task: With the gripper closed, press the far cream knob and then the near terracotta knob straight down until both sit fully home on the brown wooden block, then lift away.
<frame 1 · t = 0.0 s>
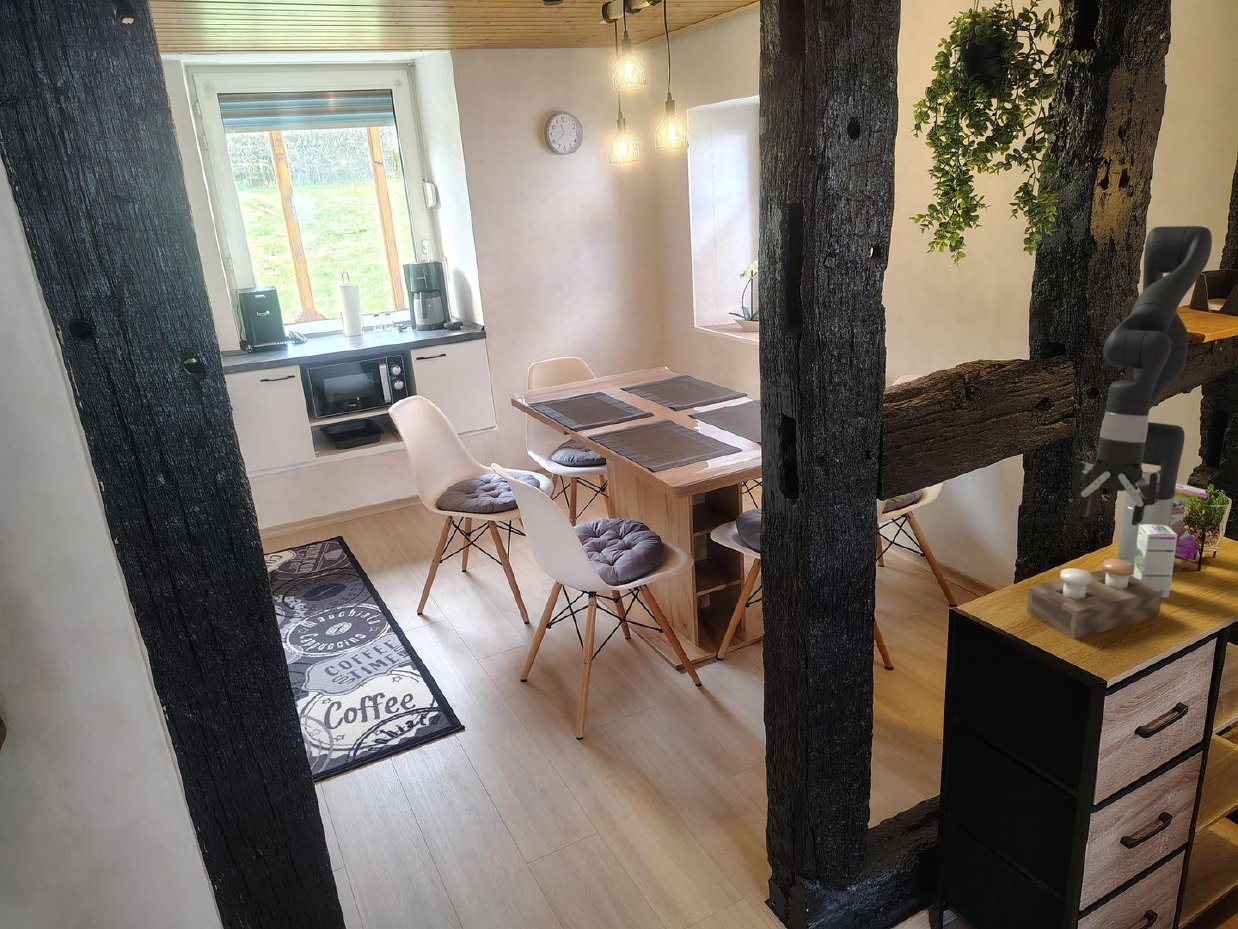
hand: (1109, 520, 165), 22 cm above the dresser top, tool pointing down, fingers open, 8 cm apart
terracotta knob: (1116, 580, 175), point 7 cm above the dresser top, slide at 0.0 cm
cream knob: (1074, 590, 172), point 7 cm above the dresser top, slide at 0.0 cm
brown wooden block: (1092, 614, 176), on the dresser top
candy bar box: (1174, 554, 202), on the dresser top
syrup box: (1149, 592, 184), on the dresser top
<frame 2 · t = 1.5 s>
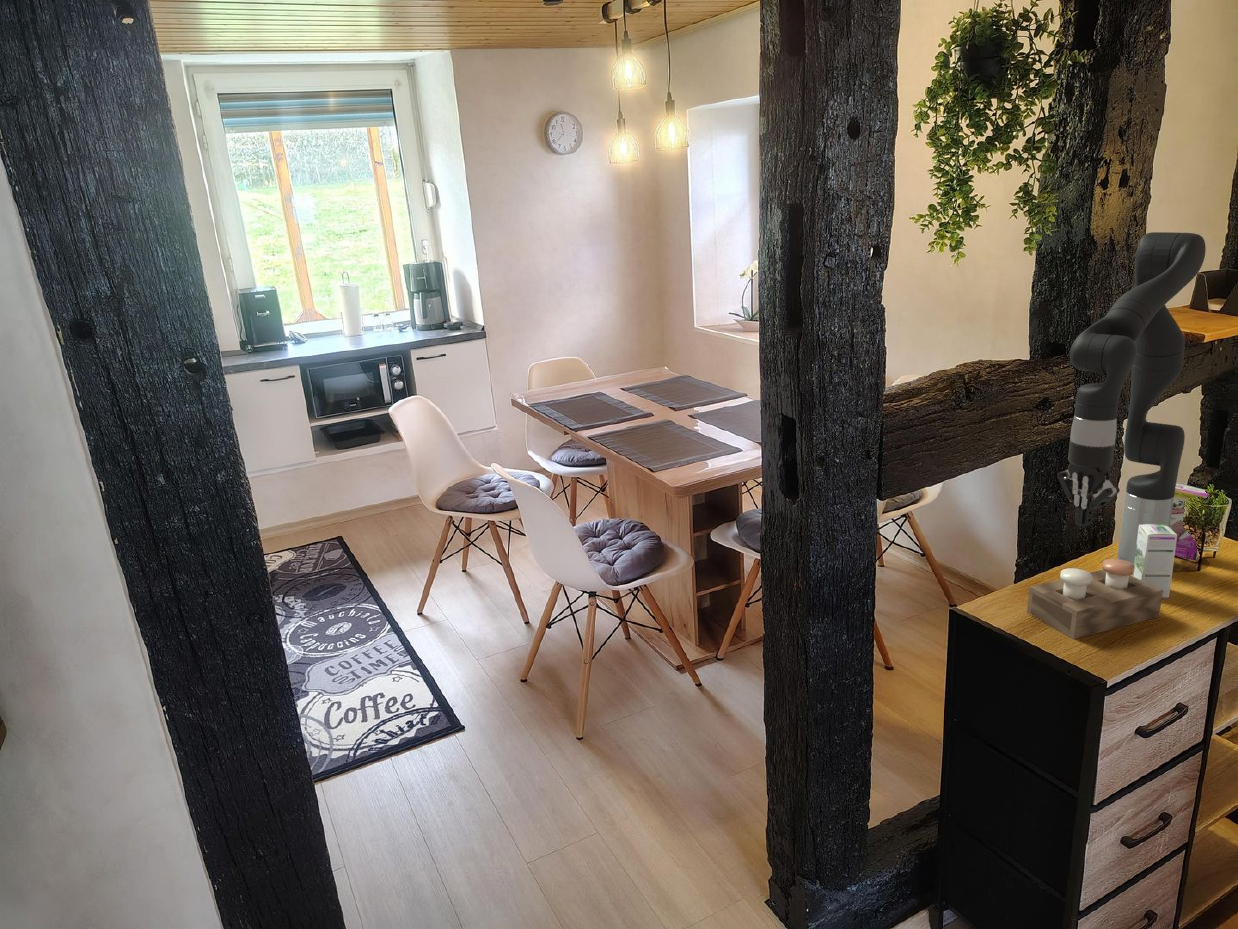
hand: (1082, 524, 168), 21 cm above the dresser top, tool pointing down, fingers closed
nothing on the dresser top moved.
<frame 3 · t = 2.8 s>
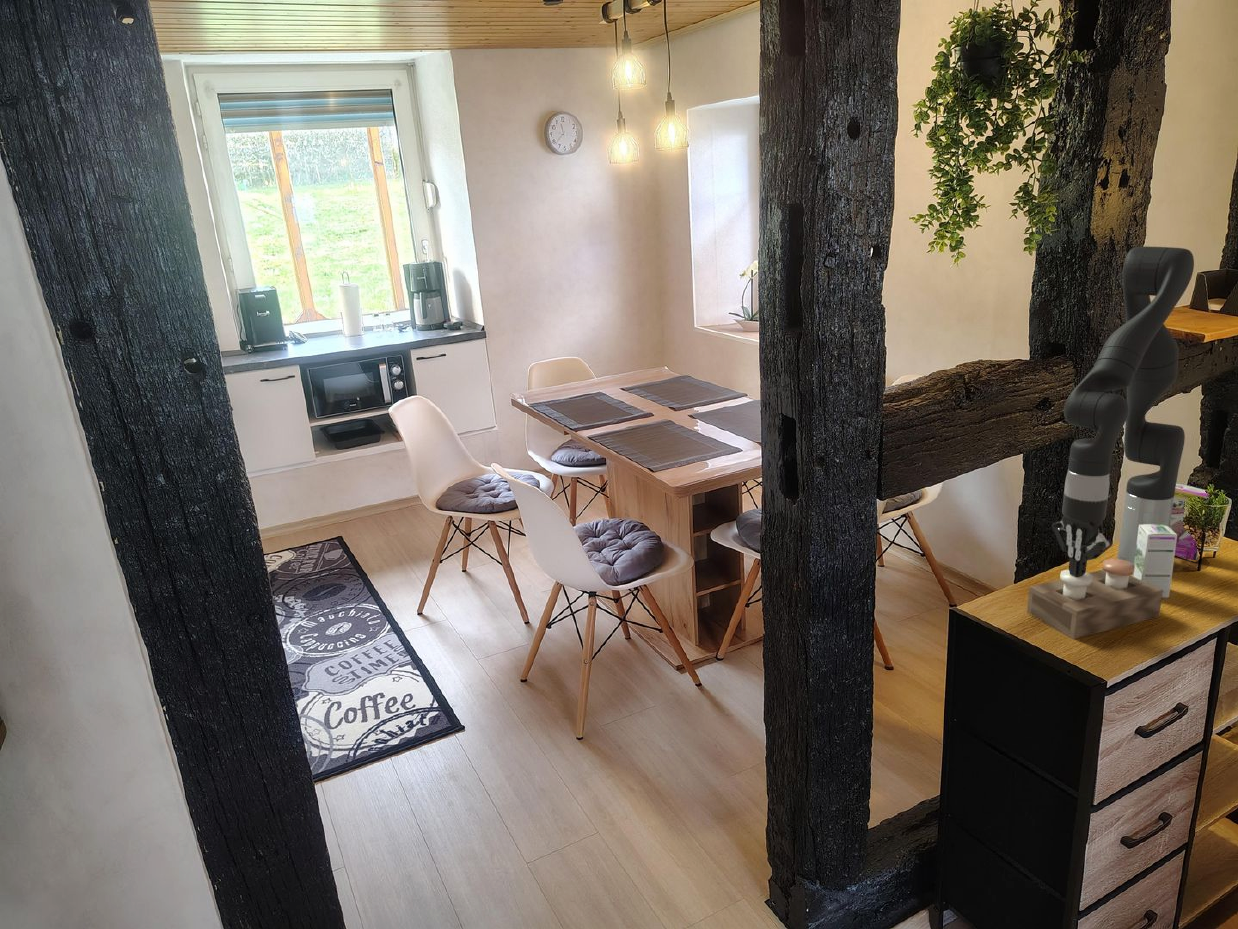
hand: (1076, 575, 171), 10 cm above the dresser top, tool pointing down, fingers closed
cream knob: (1074, 591, 172), point 6 cm above the dresser top, slide at 0.2 cm, touching gripper
everything else where it was.
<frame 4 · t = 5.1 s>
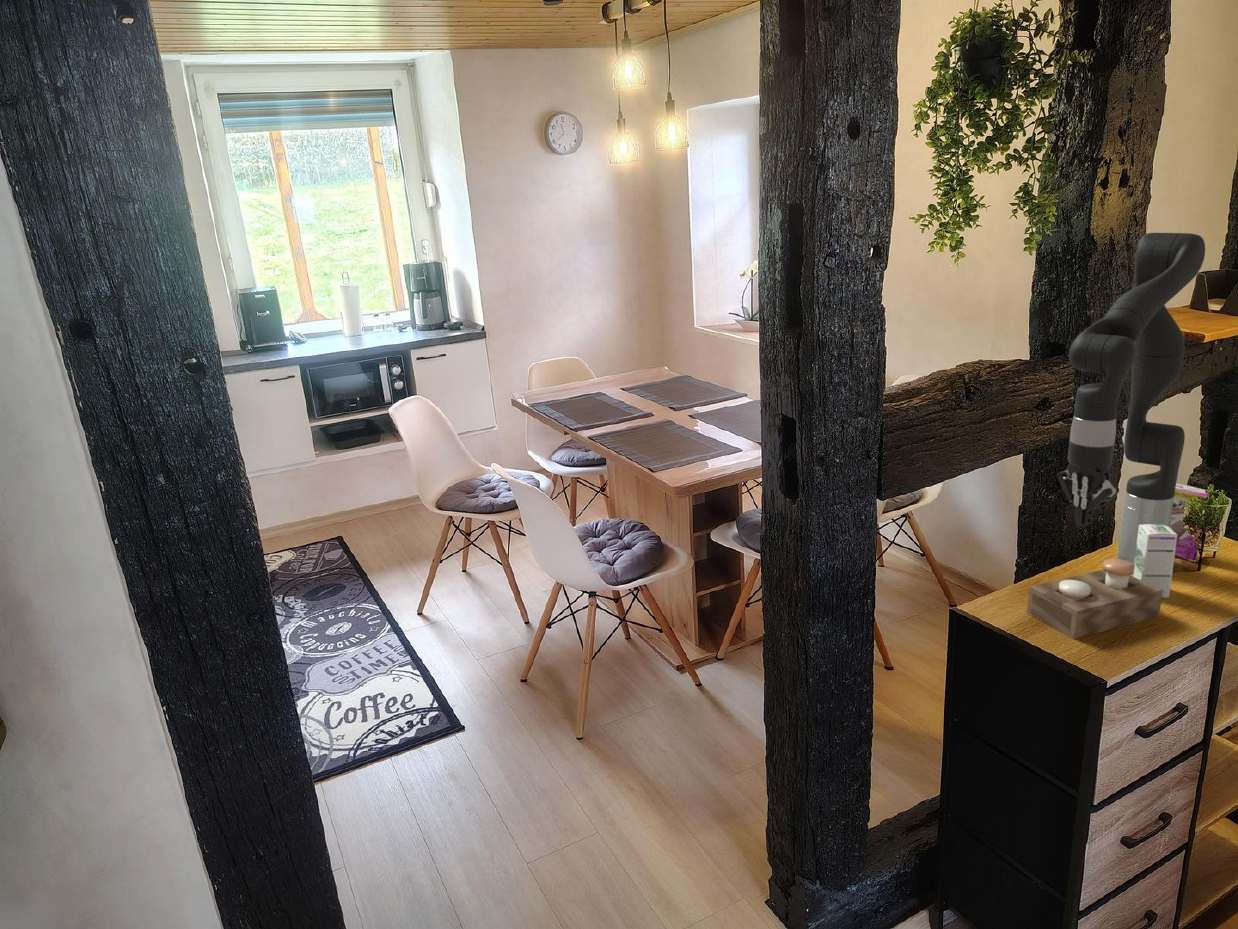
hand: (1082, 524, 168), 21 cm above the dresser top, tool pointing down, fingers closed
cream knob: (1073, 602, 173), point 4 cm above the dresser top, slide at 2.6 cm
everything else where it was.
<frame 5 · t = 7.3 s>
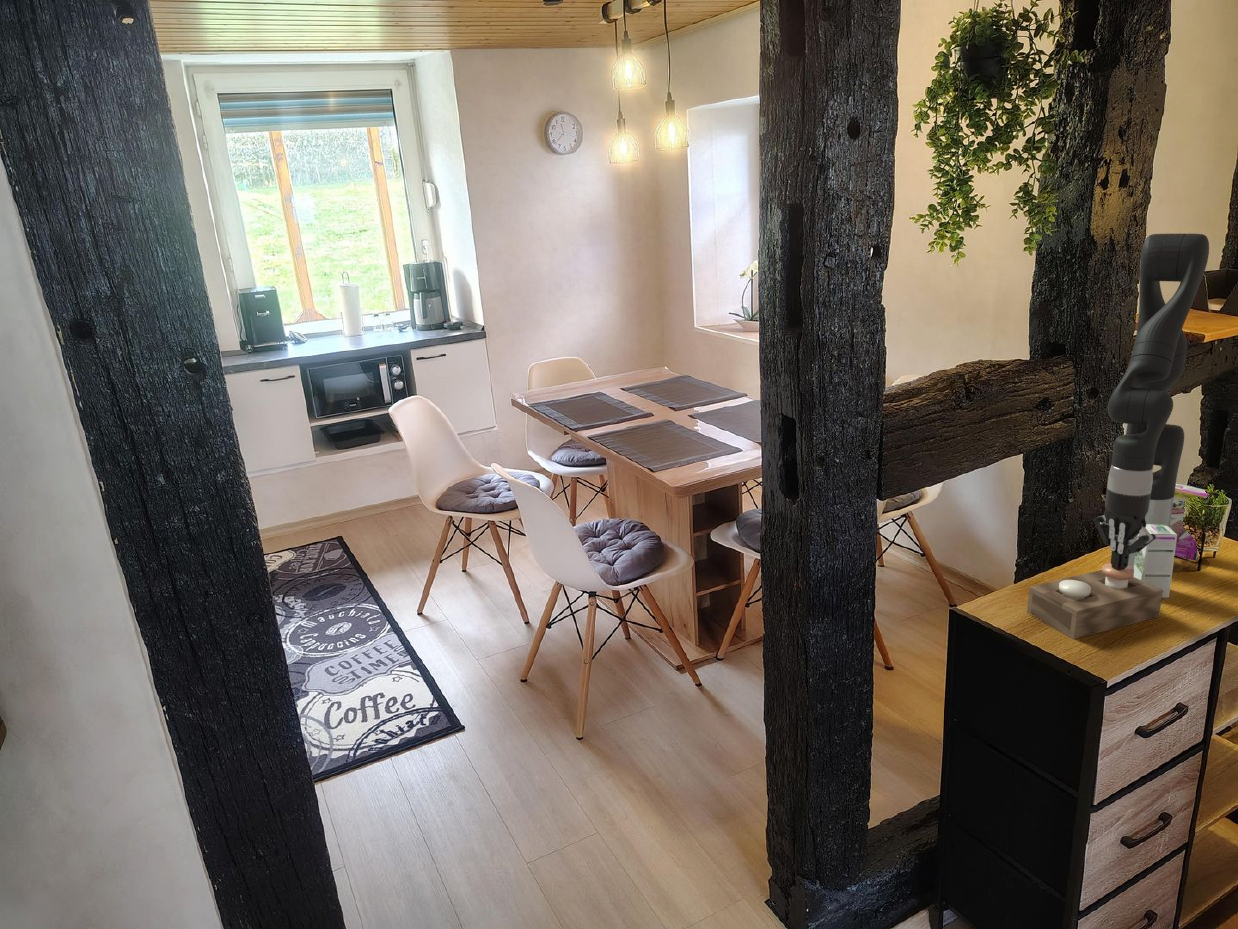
hand: (1118, 568, 174), 9 cm above the dresser top, tool pointing down, fingers closed
terracotta knob: (1116, 584, 176), point 6 cm above the dresser top, slide at 0.9 cm, touching gripper
everything else where it was.
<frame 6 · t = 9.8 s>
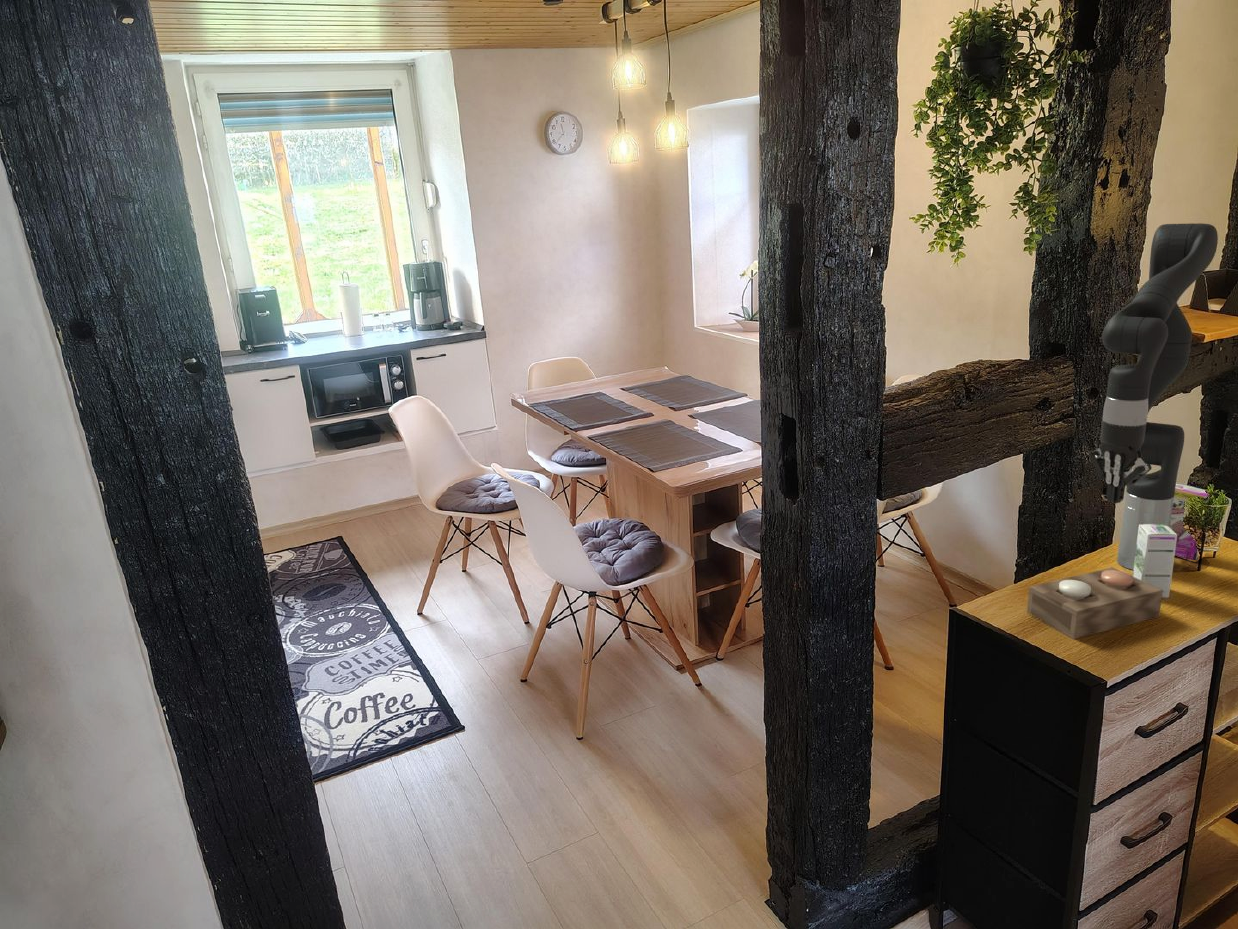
hand: (1114, 501, 173), 23 cm above the dresser top, tool pointing down, fingers closed
terracotta knob: (1115, 592, 176), point 4 cm above the dresser top, slide at 2.6 cm
everything else where it was.
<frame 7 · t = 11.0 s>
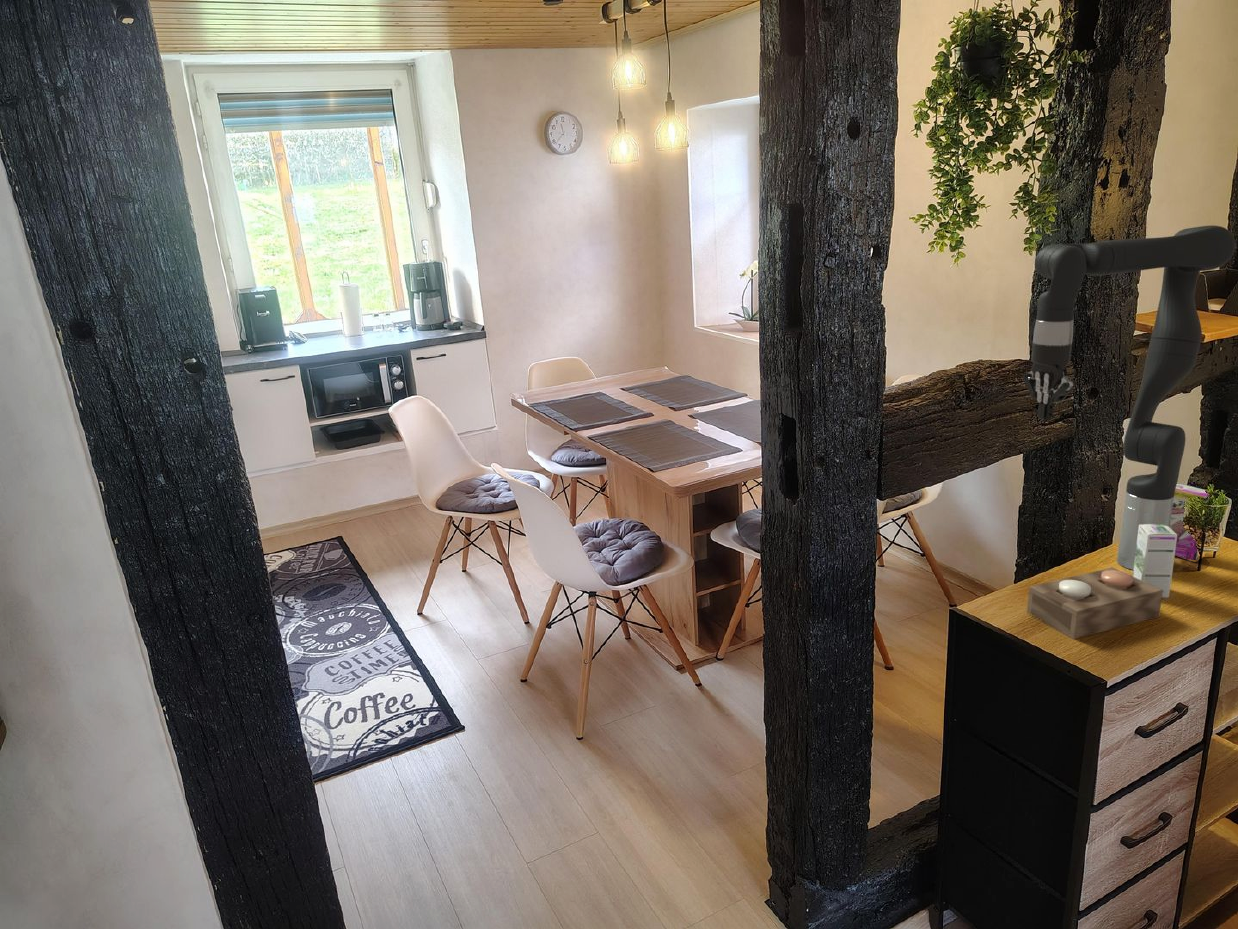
hand: (1044, 419, 189), 35 cm above the dresser top, tool pointing down, fingers closed
nothing on the dresser top moved.
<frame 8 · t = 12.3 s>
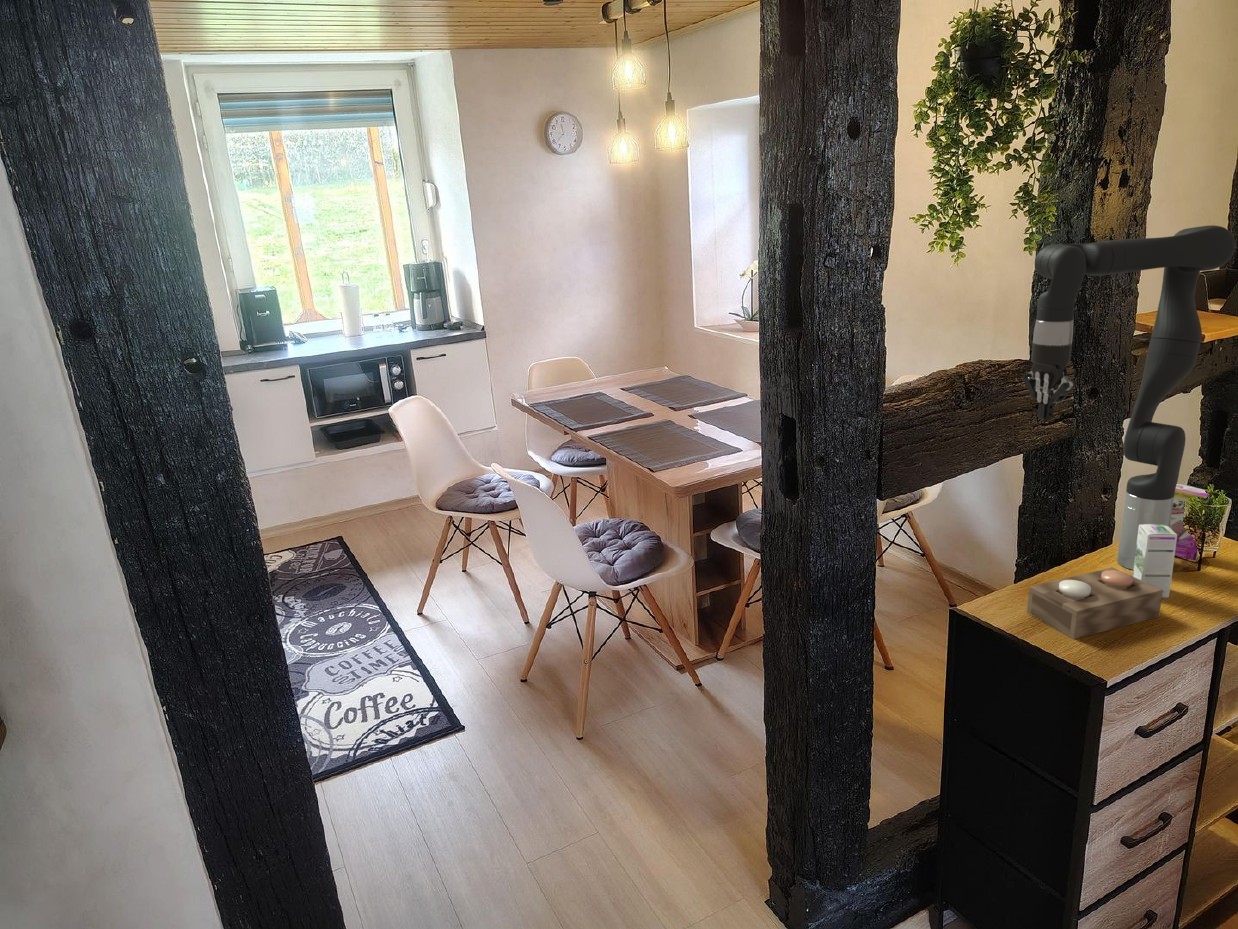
hand: (1044, 419, 189), 35 cm above the dresser top, tool pointing down, fingers closed
nothing on the dresser top moved.
at the end: cream knob slide at 2.6 cm; terracotta knob slide at 2.6 cm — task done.
